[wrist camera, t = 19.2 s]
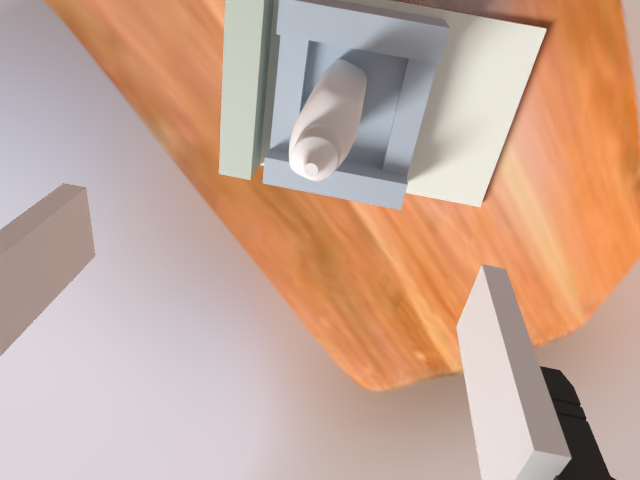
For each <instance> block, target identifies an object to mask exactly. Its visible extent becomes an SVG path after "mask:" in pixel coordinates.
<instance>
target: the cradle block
mask: <svg viewBox="0 0 640 480" xmlns="http://www.w3.org/2000/svg"><path fill="white" fill-rule="evenodd" d="M449 32H450V27H449V26H448V24H447V23H446V21H445V20H444V19H439V18H433V17H428V16H422V15H417V14H411V13H406V12H400V11H394V10H389V9H383V8H378V7H372V6H367V5H361V4H355V3H350V2H344V1H339V0H279V9H278V20H277V30H276V34H277V35H281V37H280V47H279V58H278V68H277V78H276V89H275V99H274V110H273V120H272V130H271V141H270V150H269V152H268V153H267V155H266V156H265V162H264V173H263V184H269V185H274V186H279V187H284V188H289V189H295V190H300V191H305V192H310V193H315V194H321V195H326V196H331V197H336V198H341V199H346V200H352V201H357V202H362V203H367V204H372V205H378V206H383V207H388V208H393V209H398V210H401V207H402V204H403V200H404V196H405V193H406V189H407V185H408V182H407V174H408V171H409V167H410V163H411V160H412V156H413V152H414V148H415V145H416V141H417V137H418V134H419V130H420V126H421V122H422V119H423V115H424V111H425V108H426V104H427V100H428V96H429V93H430V89H431V85H432V82H433V78H434V74H435V70H436V67H437V64H441V61H442V57H443V54H444V50H445V46H446V43H447V39H448V35H449ZM340 59H342V60H346V61H348V62H350V63H352V64H354V65H356V66H358V67H360V68H362V69H363V70H364V71H365V72H366V75H367V85H366V92H365V98H364V103H363V108H362V114H361V119H360V123H359V128H358V132H357V135H356V138H355V141H354V143H353V146H352V148H351V150H350V151H349V153H348V155H347V157H346V158H345V160H344V161H343V162H342V163H341V165H340V166H339V167H338V168H337V169H336V171H335V172H334V173H333V174H332V175H331V176H330V177H328V178H325V179H323V180H321V181H318V182H317V181H312V180H309V179H307V178H305V177H303V176H301V175H299V174H297V173H295V172H294V171H293V170H292V169H291V167H290V164H289V144H290V138H291V134H292V131H293V128H294V125H295V123H296V121H297V118H298V116H299V114H300V113H301V111H302V109H303V107H304V105H305V103H306V102H307V100H308V98H309V96H310V94H311V93H312V91H313V89H314V87H315V85H316V84H317V82H318V80H319V79H320V77H321V76H322V75H323V73H324V72H325V71H326V70H327V69H328V68H329V67H330V66H331V65H332V64H333V63H334V62H335V61H337V60H340Z"/></svg>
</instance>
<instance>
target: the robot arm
mask: <svg viewBox="0 0 640 480" xmlns="http://www.w3.org/2000/svg"><path fill="white" fill-rule="evenodd" d="M94 257H95V250H94V243H93V235H92V227H91V220H90V213H89V205H88V199H87V191H86V188H85V187H80V186H75V185H69V184H64V183H63V184H62V185H61V186H59V187H58V188H57V189H55V190H54V191H53V192H52V193H50V194H48V196H46V197H44V198H43V199H42V200H40V201H39V202H38V203H36V204H35V205H33V206H32V207H31V208H29V209H28V210H27V211H25V212H24V213H23V214H21V215H20V216H18V217H17V218H16V219H14V220H13V221H12V222H10V223H9V224H8V225H6V226H5V227H3V228H2V229H1V230H0V356H1V355H2V354H3V353H4V352H5V351H6V349H8V348H9V346H10V345H11V344H12V343H13V342H14V341H15V340H16V339H17V338H18V337H19V336H20V335H21V334H22V333H23V332H24V331H25V330H26V328H27V327H28V326H29V325H30V324H31V323H32V322H33V321H34V320H35V319H36V318H37V317H38V316H39V315H40V314H41V313H42V311H43V310H45V308H46V307H47V306H48V305H49V304H50V303H51V302H52V301H53V300H54V299H55V298H56V297H57V296H58V295H59V294H60V293H61V291H62V290H63V289H64V288H65V287H66V286H67V285H68V284H69V283H70V282H71V281H72V280H73V279H74V278H75V277H76V275H77V274H78V273H80V271H81V270H82V269H83V268H84V267H85V266H86V265H87V264H88V263H89V262H90V261H91V260H92V259H93V258H94ZM456 328H457V334H458V340H459V346H460V352H461V358H462V364H463V370H464V376H465V382H466V387H467V394H468V399H469V406H470V412H471V418H472V424H473V430H474V436H475V441H476V448H477V453H478V460H479V465H480V472H481V477H482V480H615V479H614V478H612V477H611V476H610V474H609V472H608V470H607V467H606V465H605V462H604V460H603V457H602V455H601V453H600V451H599V448H598V445H597V443H596V440H595V438H594V436H593V433H592V431H591V428H590V426H589V424H588V422H587V421H586V416H585V413H584V411H583V409H582V407H580V401H579V399H578V396H577V394H576V392H575V389H574V387H573V386H572V384H571V383H570V382H569V381H568V380H567V378H566V377H565V376H564V375H563V373H562V372H561V371H560V370H556V369H551V368H546V367H541V366H539V363H538V360H537V357H536V354H535V351H534V348H533V346H532V343H531V340H530V337H529V334H528V331H527V328H526V325H525V323H524V320H523V317H522V314H521V311H520V308H519V305H518V303H517V300H516V297H515V294H514V291H513V288H512V285H511V282H510V280H509V277H508V274H507V271H506V269H503V268H498V267H492V266H487V265H482V266H481V268H480V271H479V273H478V276H477V278H476V281H475V283H474V285H473V288H472V290H471V293H470V295H469V298H468V300H467V303H466V305H465V307H464V310H463V312H462V315H461V317H460V320H459V322H458V324H457V327H456Z"/></svg>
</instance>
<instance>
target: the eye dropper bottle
mask: <svg viewBox="0 0 640 480" xmlns="http://www.w3.org/2000/svg"><path fill="white" fill-rule="evenodd" d="M366 85H367V75H366V72H365V71H364V70H363V69H362V68H360V67H358V66H356V65H354V64H352V63H350V62H348V61H346V60H342V59H340V60H337V61H335V62H334V63H333V64H332V65H331V66H330V67H329V68H328V69H327V70H326V71H325V72H324V73H323V75H322V76H321V77H320V79H319V80H318V82H317V84H316V85H315V87H314V89H313V91H312V93H311V94H310V96H309V98H308V100H307V102H306V103H305V105H304V107H303V109H302V111H301V113H300V114H299V116H298V118H297V121H296V123H295V125H294V128H293V131H292V134H291V138H290V144H289V164H290V167H291V169H292V170H293V171H294V172H295V173H297V174H299V175H301V176H303V177H305V178H307V179H309V180H312V181H317V182H318V181H321V180H323V179H325V178H328V177H330V176H331V175H332V174H333V173H334V172H335V171H336V169H337V168H338V167H339V166H340V165H341V163H342V162H343V161H344V160H345V158H346V157H347V155H348V153H349V151H350V150H351V148H352V146H353V143H354V141H355V138H356V135H357V132H358V128H359V123H360V119H361V114H362V108H363V103H364V98H365V92H366Z"/></svg>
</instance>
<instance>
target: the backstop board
mask: <svg viewBox="0 0 640 480" xmlns="http://www.w3.org/2000/svg"><path fill="white" fill-rule="evenodd" d="M339 1H344V2H350V3H355V4H361V5H367V6H372V7H378V8H383V9H389V10H394V11H400V12H406V13H411V14H417V15H422V16H428V17H433V18H439V19H444V20H445V21H446V23H447V24H448V26H449V27H450V32H449V35H448V39H447V43H446V46H445V50H444V54H443V57H442V61H441V64H437V67H436V70H435V74H434V78H433V82H432V85H431V89H430V93H429V96H428V100H427V104H426V108H425V111H424V115H423V119H422V122H421V126H420V130H419V134H418V137H417V141H416V145H415V148H414V152H413V156H412V160H411V163H410V167H409V171H408V174H407V182H408V185H407V189H406V193H409V194H414V195H420V196H425V197H430V198H435V199H441V200H446V201H451V202H456V203H461V204H467V205H472V206H477V207H480V206H481V204H482V201H483V198H484V196H485V193H486V190H487V187H488V185H489V182H490V179H491V177H492V174H493V171H494V169H495V166H496V163H497V161H498V158H499V155H500V153H501V150H502V147H503V145H504V142H505V139H506V137H507V134H508V131H509V129H510V126H511V123H512V121H513V118H514V115H515V113H516V110H517V107H518V105H519V102H520V99H521V97H522V94H523V91H524V89H525V86H526V83H527V81H528V78H529V75H530V73H531V70H532V67H533V65H534V62H535V59H536V57H537V54H538V51H539V49H540V46H541V43H542V41H543V38H544V35H545V33H546V30H547V29H546V28H544V27H539V26H533V25H527V24H522V23H516V22H511V21H505V20H499V19H494V18H488V17H483V16H477V15H471V14H466V13H460V12H455V11H449V10H444V9H438V8H432V7H427V6H421V5H416V4H410V3H404V2H399V1H393V0H339ZM278 9H279V0H225V21H224V49H223V77H222V104H221V132H220V159H219V174H222V175H227V176H233V177H238V178H243V179H248V180H251V178H252V177H253V175H254V174H255V172H256V170H257V169H258V167H259V165H263V166H264V162H265V156H266V155H267V153H268V152H269V150H270V141H271V130H272V120H273V110H274V99H275V89H276V78H277V68H278V58H279V47H280V37H281V35H277V34H276V30H277V20H278Z"/></svg>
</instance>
